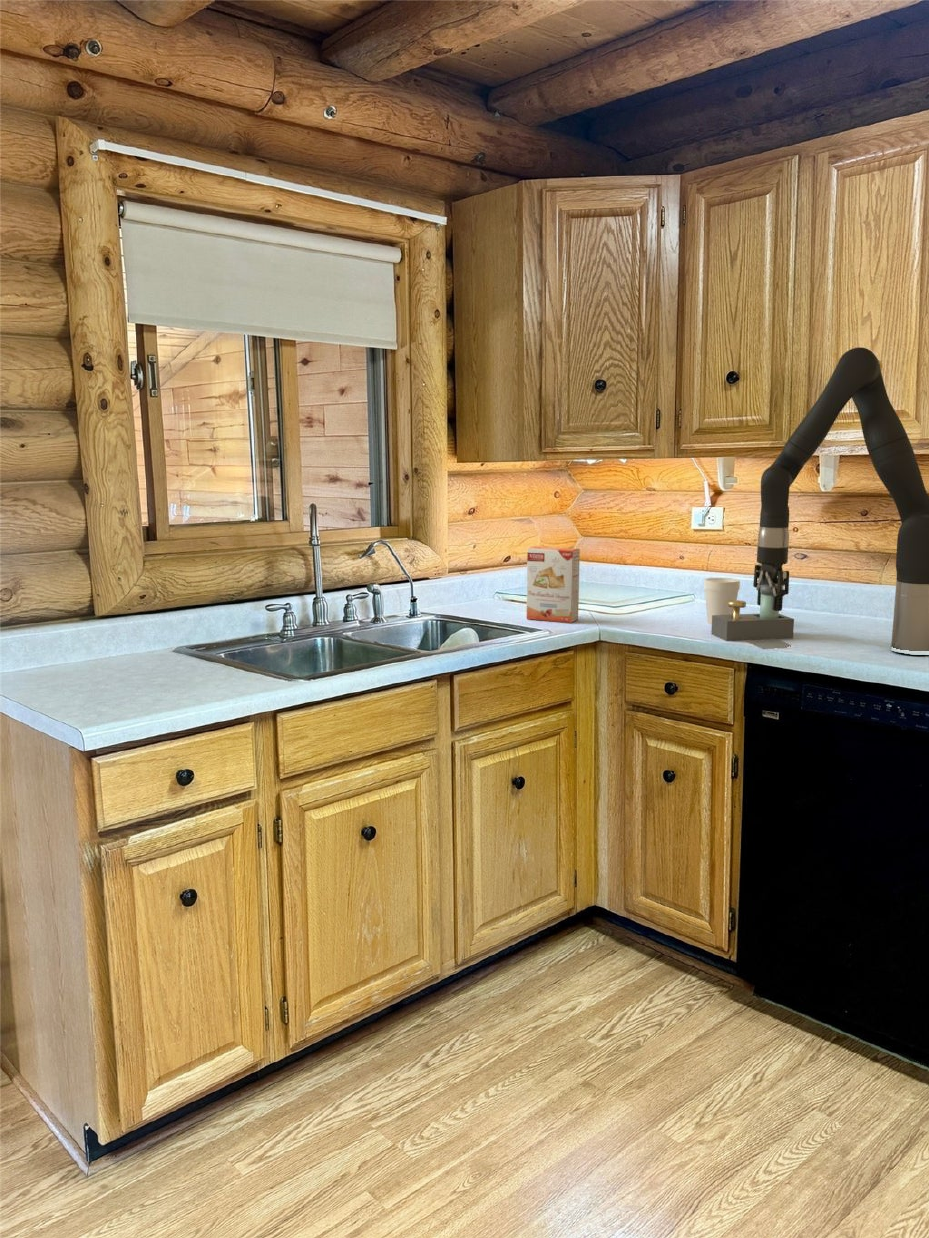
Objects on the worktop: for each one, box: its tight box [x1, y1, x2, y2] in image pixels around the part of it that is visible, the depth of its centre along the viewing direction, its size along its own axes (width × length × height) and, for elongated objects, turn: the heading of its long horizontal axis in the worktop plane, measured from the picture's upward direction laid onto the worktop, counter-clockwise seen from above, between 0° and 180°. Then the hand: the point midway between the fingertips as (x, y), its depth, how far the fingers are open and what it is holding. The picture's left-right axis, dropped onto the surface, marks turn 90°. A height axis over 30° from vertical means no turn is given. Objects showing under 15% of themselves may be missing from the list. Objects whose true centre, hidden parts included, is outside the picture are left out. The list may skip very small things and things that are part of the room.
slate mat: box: [745, 639, 792, 650], centre depth 236 cm, size 9×9×1 cm
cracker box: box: [526, 545, 581, 624], centre depth 273 cm, size 14×6×21 cm, turn 62°
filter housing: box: [710, 613, 795, 642], centre depth 246 cm, size 18×9×6 cm, turn 100°
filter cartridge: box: [759, 584, 780, 619], centre depth 246 cm, size 5×5×13 cm
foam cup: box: [703, 577, 741, 625], centre depth 264 cm, size 10×9×13 cm
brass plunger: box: [728, 599, 747, 619], centre depth 245 cm, size 4×4×9 cm
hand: (769, 607), depth 246 cm, fingers open, 8 cm apart
